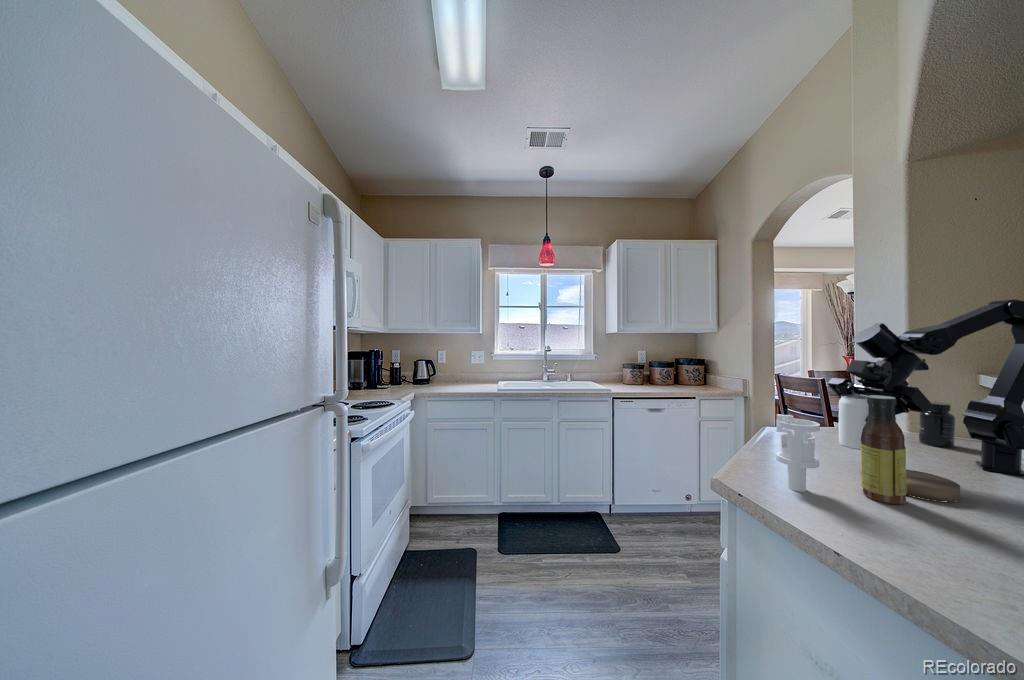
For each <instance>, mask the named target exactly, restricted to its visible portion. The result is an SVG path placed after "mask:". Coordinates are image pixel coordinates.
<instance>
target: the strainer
mask: <svg viewBox="0 0 1024 680" xmlns="http://www.w3.org/2000/svg"><path fill="white" fill-rule="evenodd" d="M820 430H821V424H820V423H819V422H817V421H813V420H808V419H802V418H794V415H792V414H779V413H778V414H777V413H776V432H778V433H781V434H780V450H779V451H777V452H775V460H776V461H778V462H779V463H781V464H783V465H786V466H787V483H786V485H787V488H788V489H789V490H791V491H795V492H798V493H799V492H801V493H802V492H806V491H807V469H817V468H819V467H820V460H819V458H817V457H816V456H815V446H816V445H815V441H816V439H815V438H816V437H815V436H814V435H812V433H814V432H819V431H820Z"/></svg>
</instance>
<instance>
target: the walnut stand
mask: <svg viewBox="0 0 1024 680" xmlns="http://www.w3.org/2000/svg"><path fill="white" fill-rule="evenodd" d="M906 483H907V494H906V496H907V495H911V496H915V497H920V498H924V499H929V500H936V501H947V502H952V503H956V502H955V501H958V502H959V501H961V500H960V499H961V486H960V484H958V483H957V482H956V481H954V480H952V479H949V478H946V477H943V476H939V475H936V474H932V473H928V472H923V471H919V470H918V471H917V470H914V469H913V470H912V469H907V468H906ZM929 500H928V501H929ZM936 501H935V502H936ZM947 502H946V503H947Z"/></svg>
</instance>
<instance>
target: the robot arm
mask: <svg viewBox="0 0 1024 680" xmlns="http://www.w3.org/2000/svg"><path fill="white" fill-rule="evenodd" d="M1000 323H1003V324H1006V325H1008V326H1011V327H1010V328H1011V329H1010V331H1011V334H1012V337H1013V339H1014V345H1013V346H1012V348H1011V350H1010V353H1009V354H1008V356H1007V358H1006V360H1005V362H1004V364H1003V366H1002V368H1001V370H1000V372H999V374H998V375H997V378H996V380H995V382H994V383H993V386H992V388H991V389H990V392H989V394H988V395H987V397H985V398H983V399H982V400H981V401H979V400H973V399H972V400H970V401H969V402H968V404H967V407H966V410H965V411H964V412H963V413H962V416H964V417H963V418H962V419H963V421H962V423H963V425H964V426H965V428H966V429H967V432H968V435H969V437H970V439H973V440H978V441H981V451H980V452H981V454H980V460H979V461H978V460H975V461H974V463H975V464H976V465H977V466H978V467H979V468H980V469H982V470H985V471H989V472H996V473H1003V474H1008V475H1009V474H1010V475H1016V476H1021V477H1024V470H1023V469H1022V458H1023V455H1022V454H1023V452H1022V451H1023V450H1024V409H1023V407H1022V406H1023V403H1024V301H1023V300H1020V299H1013V298H1012V299H1003V300H1002V299H999V300H992V301H990V302H989V303H986V304H985V305H983V306H981V307H978V308H976V309H973V310H971V311H969V312H966V313H964V314H962V315H959V316H957V317H954V318H952V319H949V320H947V321H945V322H942V323H939V324H937V325H936V324H935V325H931V326H925V327H924V326H923V327H919V328H914V329H911V330H908V331H905V332H903V333H901V335H896V334H895V333H894V332H893V331H892V330H891V329H889V327H888V326H887V325H886V324H885V323H878V322H877V323H875V324H874V325H872V326H869V327H867V328H865V329H863V330H862V331H859V332H857V333H856V334H855V335H854V337H853V342H854V343H855V344H856V345H858V346H859V347H860V348H861V349H862V350H863V351H865V353H867V354H868V355H869V356H870V357H871V358H874V359H882V360H877V361H870V360H861V359H859V360H858V359H851V360H850V362H849V365H848V368H847V370H846V373H847V374H851V375H853V376H854V377H856V380H857V382H858V383H859V384H861V385H856V384H854V383H853V381H852V380H851V379H850V378H844V377H843V378H841V377H831V378H830V379H829V381H827V383H826V385H827V386H828V387H829V388H830V390H832V391H833V392H834V394H836V396H837V397H838V398H839V400H840V399H841V397H842V396H841V395H846V394H849V395H863V396H871V395H879V396H890V397H894V398H896V402H897V404H896V406H895V416H896V415H901V414H909V413H910V412H917V413H925V412H926V411H927V410H928V409H929V408H930V407H931V403H930V402H931V401H930V399H928V397H927V396H926V395H925V394H924V393H923V392H922V390H920V389H919V387H916V386H909V385H910V383H909V382H908V381H907V380H908V378H909V377H910V376H911V375H912V374H913V373H914V371H917V372H918V371H928V370H930V367H929V365H928V364H927V362H926V358H925V359H924V358H921V357H920V356H918V355H923V356H924V355H925V356H926V355H927V356H937V355H941V354H944V352H946V351H948V350H949V349H952V347H954V346H955V345H956V344H957V342H958V341H959V340H960V339H963V338H964V337H967V336H970V335H972V334H974V333H977V332H980V331H982V330H984V329H986V328H987V329H988V328H989V327H991V326H995V325H997V324H1000ZM836 415H837V417H839V407H838V409H837V413H836ZM867 419H868V416H867V418H866V420H865V421H866V422H867Z"/></svg>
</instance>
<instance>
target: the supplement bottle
mask: <svg viewBox="0 0 1024 680" xmlns="http://www.w3.org/2000/svg"><path fill="white" fill-rule="evenodd" d="M930 403H931V407H930V408H929V409H928V410H927V411H926V412H925V413H921V412H919V421H918V422H919V424H918V441H919V443H921V444H923V445H926V444H927V445H926V446H930V445H932V446H931V447H935V446H937V448H943V447H945V448H944V449H950V448H952V449H953V447H955V441H956V417H955V415H953V413H950V412H951V410H952V409H951V404H950V403H946V402H937V401H930Z"/></svg>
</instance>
